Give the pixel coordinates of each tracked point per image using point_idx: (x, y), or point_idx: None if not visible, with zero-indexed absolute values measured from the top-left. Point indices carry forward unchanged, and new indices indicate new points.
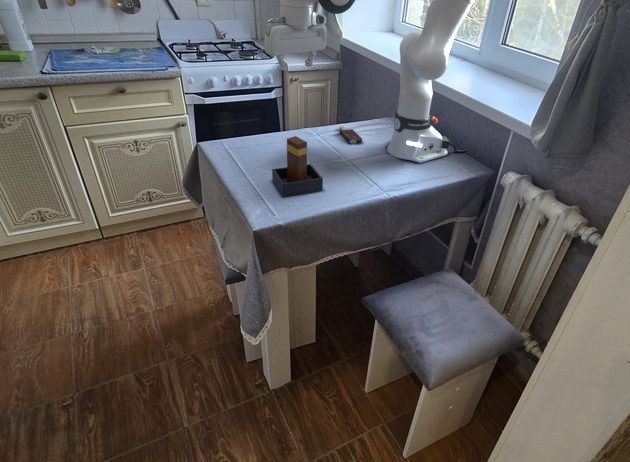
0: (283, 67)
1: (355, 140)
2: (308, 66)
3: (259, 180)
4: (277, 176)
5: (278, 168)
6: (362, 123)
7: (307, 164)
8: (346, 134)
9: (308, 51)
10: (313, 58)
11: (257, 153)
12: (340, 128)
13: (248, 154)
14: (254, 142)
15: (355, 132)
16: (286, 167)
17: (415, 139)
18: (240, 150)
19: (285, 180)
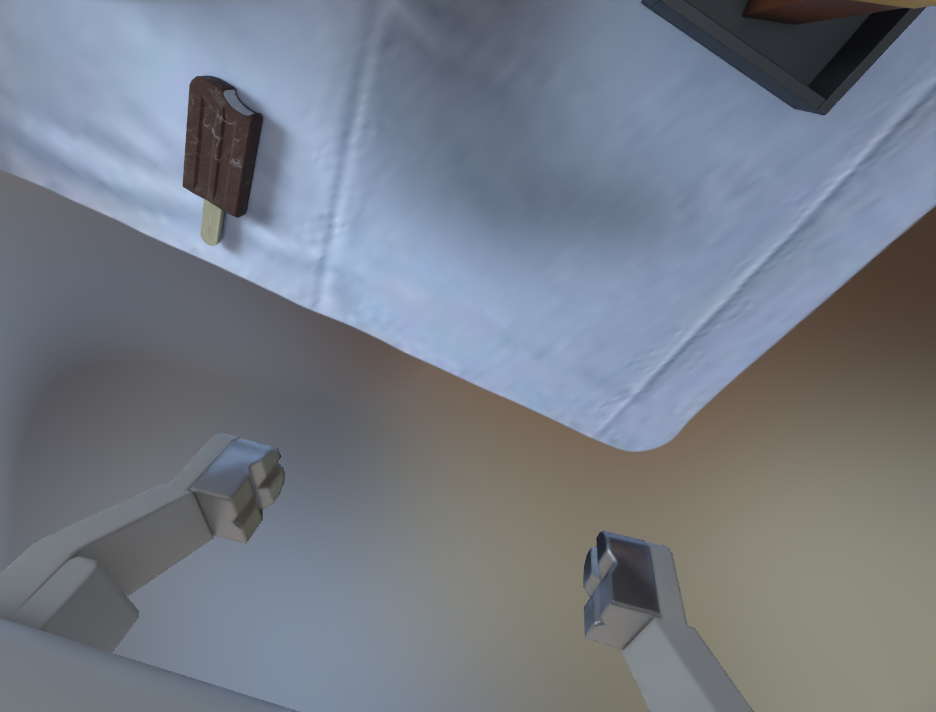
0: (677, 584)
1: (227, 98)
2: (274, 448)
3: (813, 160)
4: (914, 17)
5: (802, 94)
6: (112, 211)
7: (669, 4)
8: (233, 168)
9: (135, 663)
10: (132, 501)
11: (596, 319)
12: (220, 235)
13: (622, 334)
14: (533, 373)
15: (186, 152)
16: (769, 69)
17: None
18: (613, 368)
19: (780, 49)
